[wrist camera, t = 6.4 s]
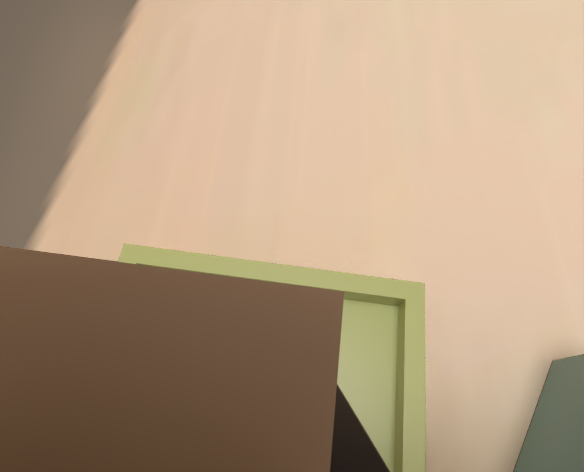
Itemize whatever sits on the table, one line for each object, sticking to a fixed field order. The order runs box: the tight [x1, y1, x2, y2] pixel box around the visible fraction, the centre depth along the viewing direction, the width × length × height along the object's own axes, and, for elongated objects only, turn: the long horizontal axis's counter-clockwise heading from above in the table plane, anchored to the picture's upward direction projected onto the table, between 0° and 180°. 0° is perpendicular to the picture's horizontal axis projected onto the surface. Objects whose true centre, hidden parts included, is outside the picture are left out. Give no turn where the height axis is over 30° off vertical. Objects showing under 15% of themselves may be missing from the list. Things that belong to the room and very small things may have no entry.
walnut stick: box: [0, 246, 344, 472], centre depth 9 cm, size 4×4×12 cm
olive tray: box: [118, 244, 425, 472], centre depth 16 cm, size 13×13×2 cm
